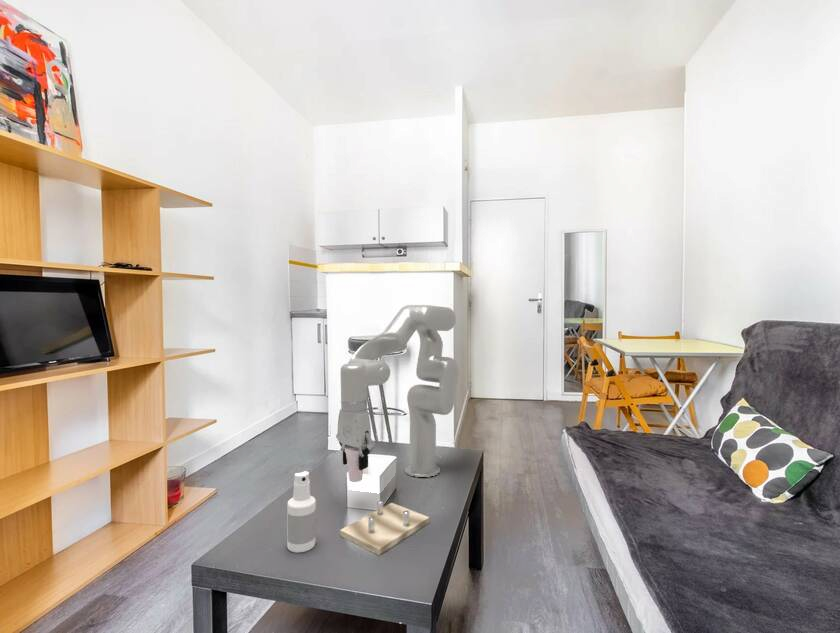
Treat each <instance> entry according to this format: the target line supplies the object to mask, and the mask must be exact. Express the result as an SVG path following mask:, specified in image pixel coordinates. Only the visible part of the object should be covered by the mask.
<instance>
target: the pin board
mask: <svg viewBox="0 0 840 633" xmlns="http://www.w3.org/2000/svg"><path fill="white" fill-rule="evenodd" d="M376 503H377V505H376V506H377V507H376V508H377V510H375V511H373V512H371V513H369V514H367V515H365V516H364V517H362V518H360V519H358V520H356V521H354V522H352V523H351V524H348V525H347V526H345V527H343V528H341V529H339V536H340V537H342V538H343V539H346V540H348V541H350V542H351V543H353V544H356V545H358V546H360V547H361V548H363V549H365V550H368V551H370V552H372V553H373V554H376V555H378V556H380V555H383V553H385V552H387V551H388V550H390V549H392V547H395V546H396V545H398V543H401V541H403V540H405V539H407V538H408V537H409V536H411V535H412V534H414V533H415V532H417V531H419V530H420V529H422V528H423V527H424V526H427V525H428V524H429V523H430V517H429V516H427V515H424V514H422V513H419V512H417V511H415V510H413V509H412V510H411V509H409V508H407V507H405V506H401V505H399V504H396V503H393V502H390V503H389V504H387V505H384V500H378V501H377V502H376Z"/></svg>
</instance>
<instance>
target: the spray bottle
mask: <svg viewBox="0 0 840 633" xmlns="http://www.w3.org/2000/svg"><path fill="white" fill-rule="evenodd" d="M310 485H311V481H310V472H309V471H307V470H304V471H301V472H295V473H294V481H293V492H292V495H293V496H292V497H291V498H290V499H289V500H288V501H287V507H286V508H287V509H286V511H287V513H286V514H287V515H286V516H287V517H286V533H287V534H286V536H287V537H286V538H287V539H286V540H287V541H286V546H287V549H288V550H289V551H290V552H292V553H298V554H299V553H305V552H308V551H309V550H311V549H313V548H314V547H315V545H316V539H317V537H316V532H317V528H316V524H317V522H316V520H317V515H316V514H317V513H316V512H317V500H316V498H315V496H312V495H311V489H310V488H311V486H310Z"/></svg>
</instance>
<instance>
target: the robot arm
mask: <svg viewBox="0 0 840 633" xmlns="http://www.w3.org/2000/svg"><path fill="white" fill-rule="evenodd" d="M456 321H457V316H456V313H455V312H454V310H453V309H452V308H451V307H446V306H438V305H437V306H436V305H431V304H427V305H426V304H409V305H408V304H407V305H404V306H403V307H401V308H400V309H399V311H398V312H397V313H396V314H395V316H394V317H393V318H392V319H391V322H390V323H389V324H388V326H386V328H385V329H384V331H382V333H379V334H377V335H376V336H374V337H373V338H371V339H370V340H368V341H366V342H364V343H363V344H362V345H361V346H360V347H358V348H357V349H356V351H355V353H354V354H353V355H352V356H351V358H350V359H349V361H348V363H345V364H343V365H342V366H341V367H340V406H341V407H340V409H339V412H338V418H337V433H336V435H335V438H336V439H337V441H338V444H339V446H340V450H341V451H342V465H344V466H345V465H347V458H346V453H345V447H346V446H347V445H348V446H352V447H355V448H358V449H359V453H360V456H359V470H363V471H364V470H366V469H367V468H368V467H369V455H370V453H371V452H372V451H373V449H374V448H375V447H376V443H375V442H374V441H373V439H372V432H371V431H372V429H371V420H370V415H369V414H370V413H369V411H368V390H367V389H368V387H371V386H372V387H373V386H382V385H384V384H385V383H387V381H388V380H389V379H390V376H391V368H390V366H389V365H388V364H387V362H385V361H383V360H377V359H379V358H380V357H384V356H386V355H390V354H394V353H396V352H399V351H401V350H403V349H404V348H405V347H406V346H407V344H408V343H409V341H410V339H411V337H412V336H413V335H414V333H415V332H417V335H418V336H419V343H420V344H419V350H418V355H417V356H418V358H417V363H416V372H415V373H416V377H417V379H419V380H421V381H423V382H429V383H430V382H431V383H439V384H438V386H436V385H430V384H415V385H413V386H412V387H410V388H409V390H408V392H407V398H406V399H407V401H406V402H407V406H408V407H407V408H408V410H409V412H408V413H409V464H408V465H406V466H405V468H404V469H405V470H404V471H405V473H406V474H407V475H408V476H411V477H413V476H415V477H414V478H418V477H427V478H432V477H431V476H433V477H436V476H437V475H439V474H440V472H441V468H440V466H439V465H437V463H438V462H440V461H441V460H442V459H443V457H442V455H440V454H439V455H437V454H436V451H437V447H436V446H437V445H436V444H437V422H436V419H435V416H434V415H440V416H441V415H442V416H446V415H448V414H450V413H451V412H452V411H453V408H454V406H455V400H456V396H457V395H456V393H457V387H458V382H459V381H458V380H459V374H460V373H459V372H460V371H459V364H458V362H457V361H456V360H455V359H454V358H452V357H449V356H442V354H443V349H444V343H443V339H442V337H441V335H440V334H439V332H440V331H441V332H449V331H450V330H452V329H454V327H455V325H456V323H457V322H456ZM362 447H364V449H365V450H364V451H363V448H362ZM438 473H439V474H438ZM435 475H436V476H435Z"/></svg>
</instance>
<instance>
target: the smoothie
mask: <svg viewBox="0 0 840 633" xmlns="http://www.w3.org/2000/svg"><path fill="white" fill-rule="evenodd" d="M362 448H363V451H364V450H365V449H364V447H362ZM345 453H346V458H347V464H346V465H347V471H348V472H347V473H348V478H349V481H350V482H353V483H357V482H361V481H362V479H363V473H364V469H363V470H359V456H360V453H359V449H358V448H355V447H352V446H348V445H347V446H346V447H345Z"/></svg>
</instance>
